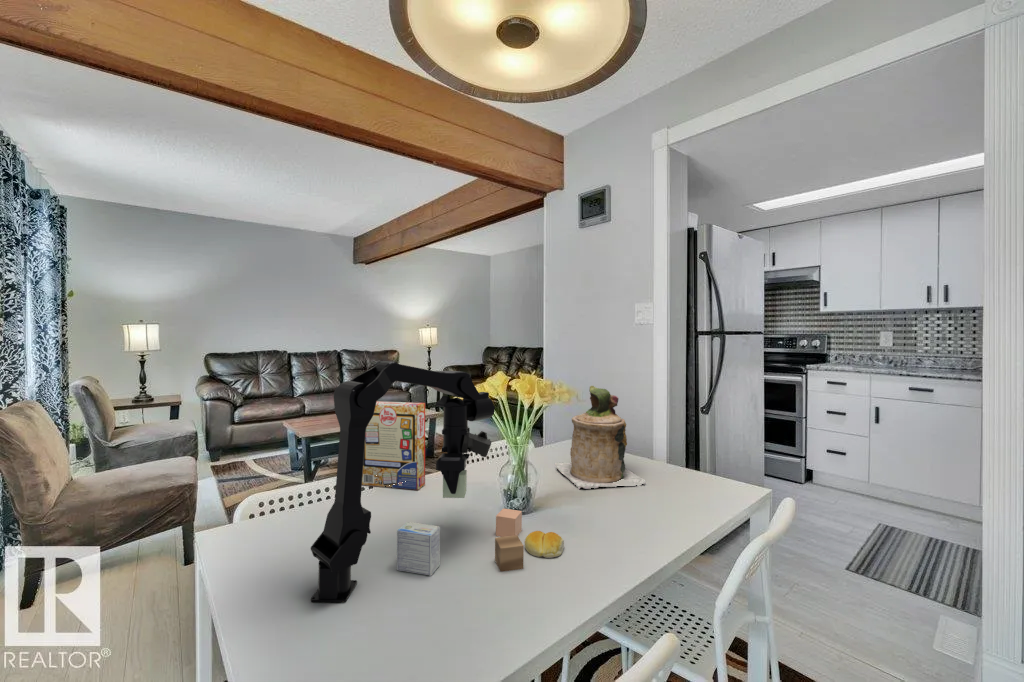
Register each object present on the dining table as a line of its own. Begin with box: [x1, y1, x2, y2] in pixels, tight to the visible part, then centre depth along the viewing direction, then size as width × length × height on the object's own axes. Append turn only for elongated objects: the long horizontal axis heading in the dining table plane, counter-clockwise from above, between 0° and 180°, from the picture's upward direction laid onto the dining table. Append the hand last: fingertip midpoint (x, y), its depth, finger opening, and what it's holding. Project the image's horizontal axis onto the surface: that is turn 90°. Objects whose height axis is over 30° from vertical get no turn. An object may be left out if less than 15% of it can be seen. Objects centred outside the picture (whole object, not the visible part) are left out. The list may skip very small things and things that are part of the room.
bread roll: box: [524, 530, 565, 559], centre depth 101 cm, size 8×9×4 cm
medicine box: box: [396, 521, 441, 577], centre depth 92 cm, size 8×4×9 cm, turn 74°
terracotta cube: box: [495, 508, 523, 537], centre depth 109 cm, size 5×5×5 cm
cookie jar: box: [554, 385, 646, 490], centre depth 154 cm, size 25×25×32 cm
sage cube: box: [442, 469, 468, 499], centre depth 104 cm, size 5×5×5 cm
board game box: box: [362, 400, 426, 491], centre depth 143 cm, size 20×6×27 cm, turn 77°
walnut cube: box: [494, 535, 525, 573], centre depth 94 cm, size 5×5×5 cm
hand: (454, 489), depth 104 cm, fingers closed on sage cube, 5 cm apart
